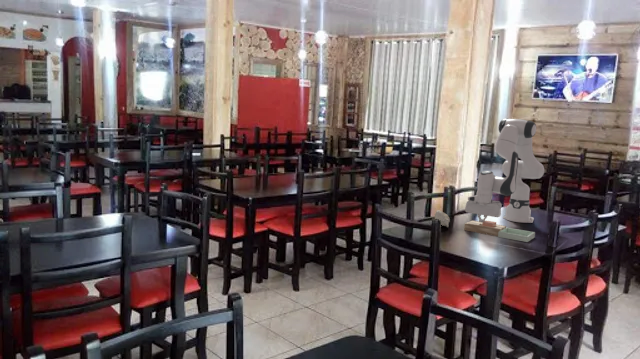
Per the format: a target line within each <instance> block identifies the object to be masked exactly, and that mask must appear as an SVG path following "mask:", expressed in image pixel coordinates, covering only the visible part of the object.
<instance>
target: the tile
mask: <svg viewBox="0 0 640 359" xmlns="http://www.w3.org/2000/svg"><path fill="white" fill-rule="evenodd" d="M496 224H497V221H491V220H485V221H484V222H483V223H482V225H483V226H489V227H494V226H496Z"/></svg>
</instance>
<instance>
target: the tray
mask: <svg viewBox="0 0 640 359" xmlns="http://www.w3.org/2000/svg"><path fill="white" fill-rule="evenodd" d="M497 237H498V238H502V239H508V240H513V241H520V242H523V243H524V242H525V243H528V242H530V241H531V240H533V239H535V237H536V232H535V231H529V230H523V229H517V228H512V227H506V228H505V229H503V230H501V231H499V232H498V236H497Z"/></svg>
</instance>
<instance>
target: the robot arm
mask: <svg viewBox="0 0 640 359" xmlns="http://www.w3.org/2000/svg"><path fill="white" fill-rule="evenodd" d="M498 132H499V136H498V138H497V140H496V143H495V151H496V153H497V155H498V156H499V157H501V158H503V159H505V161H504V162H503V164H502V166H501V169H502V171H501V172H502V173H503V174H504V175H505V177H502V176H497V175H495V174H494V172H493V171H491V170H483V171H480V172H479V174H478V178H477V184H476V185H477V186H476V187H477V191H476V194H474V195H471V196H468V197H467V200H468V201H466V203H465V208H464V211H465V212H466V213H469V214H474V215H477V218H478V221H479V222H482V223H483V222H484V221H486V219H487V218H488V217H492V218H499V217H501V215H502V206H503V204H502V202H501V201H499V200H494V199H493V194H499V195H503V196H507V197H510V198H509V204H508V205H507V206H506V210H505V215H504V216H502V219H504V220H507V221H510V222H516V223H530V224H531V223H532V224H533V222H534V219H535V218H534V217H533V216H532V213H531V212H532V210H531V208H530V202H531V200H530V195H531V194H530V193H531V192H530V191H531V188H530V186H529V185H528V184H527V183H525V182H523V180H522V179H530V180H536V179H538V180H539V179H541V178H542V177H543V176H544V174H545V167H544V165H543V164H542V163H541V162H540V161H539V160H538V159H537V158H536V156H535V155H534V151H533V150H534V148H533V137H534V136H535V135H536V132H537V125H536V123H535V122H534V121H532V120H526V119H521V118H509V117H507V118H503V119H501V120H500V122H499V123H498ZM519 159H520V160H519ZM482 216H483V218H482Z"/></svg>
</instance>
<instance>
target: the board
mask: <svg viewBox="0 0 640 359" xmlns="http://www.w3.org/2000/svg"><path fill="white" fill-rule="evenodd" d="M505 228H507V226H506V225H502V224H497V223H496V226H494V227H489V226H483V225H482V222H479V220H478V221H477V220H470V221H468V222H465V223H464V227H463V231H467V232H472V233H478V234H482V235H488V236H493V237H498V232H499V231H501V230H503V229H505Z"/></svg>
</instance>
